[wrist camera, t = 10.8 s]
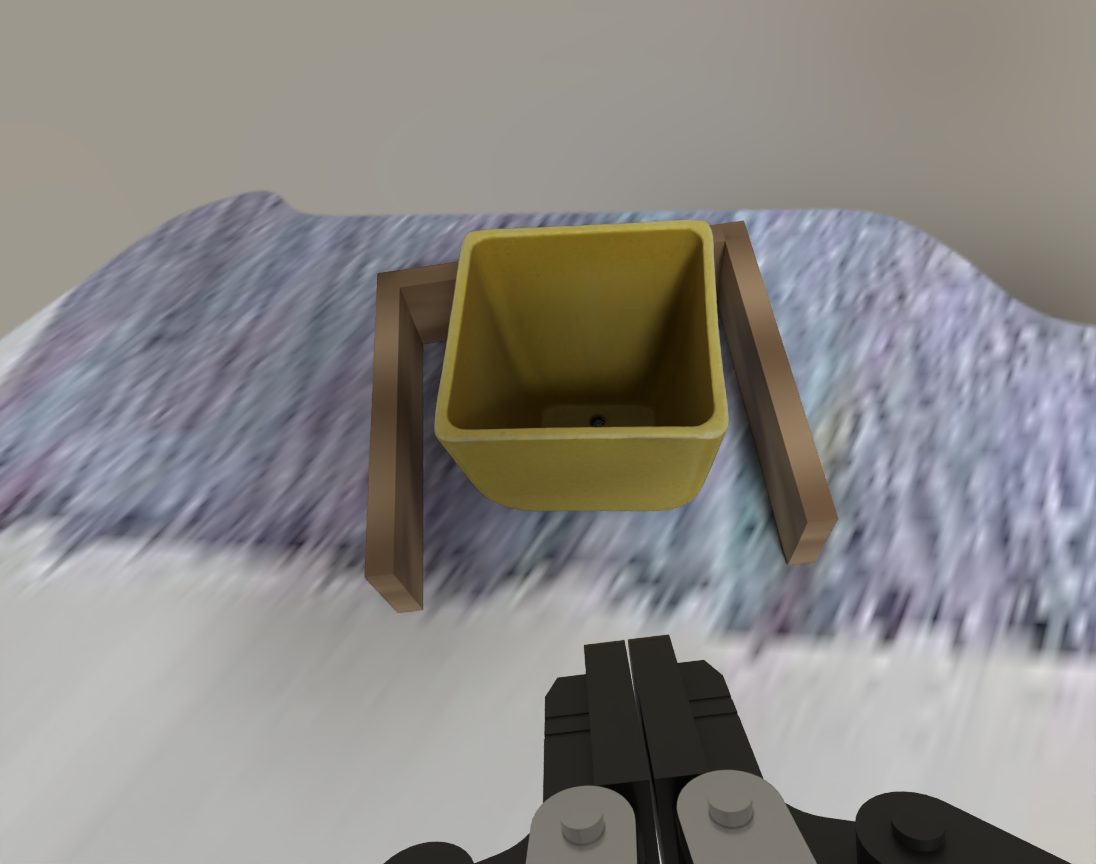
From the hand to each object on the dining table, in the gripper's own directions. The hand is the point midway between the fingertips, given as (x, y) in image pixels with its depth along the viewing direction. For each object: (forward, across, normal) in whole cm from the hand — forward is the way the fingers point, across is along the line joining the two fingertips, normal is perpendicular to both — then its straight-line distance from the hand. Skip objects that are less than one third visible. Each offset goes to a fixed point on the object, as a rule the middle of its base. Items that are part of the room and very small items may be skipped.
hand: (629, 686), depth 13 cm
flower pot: (+19, 0, +1) cm, 19 cm away
